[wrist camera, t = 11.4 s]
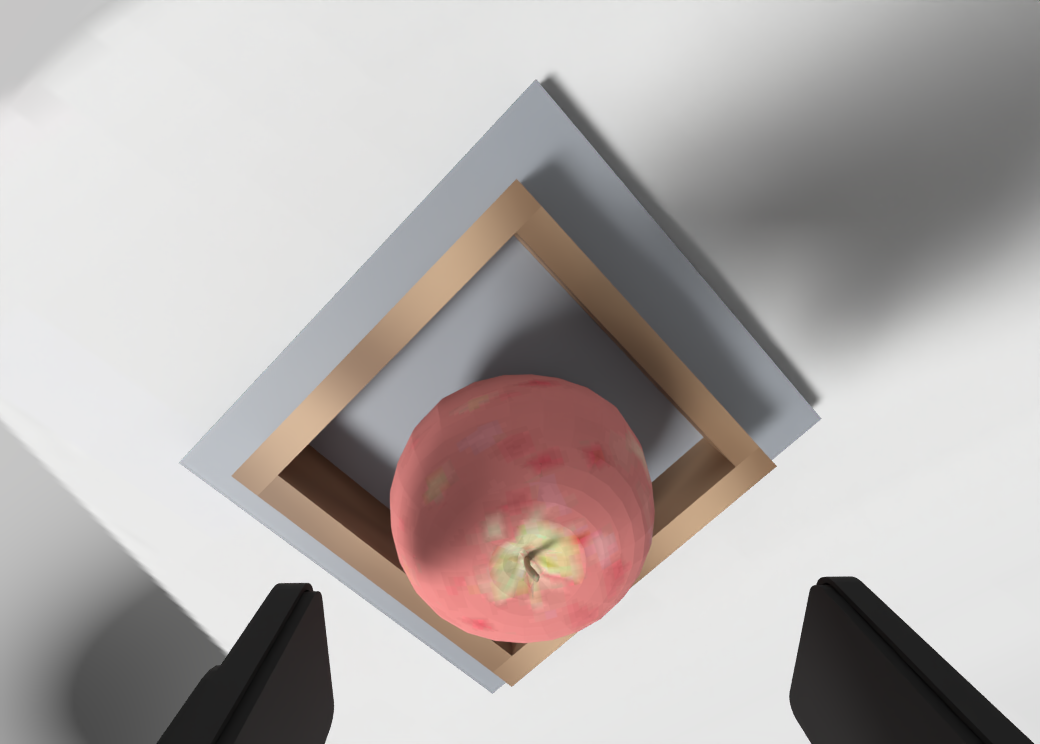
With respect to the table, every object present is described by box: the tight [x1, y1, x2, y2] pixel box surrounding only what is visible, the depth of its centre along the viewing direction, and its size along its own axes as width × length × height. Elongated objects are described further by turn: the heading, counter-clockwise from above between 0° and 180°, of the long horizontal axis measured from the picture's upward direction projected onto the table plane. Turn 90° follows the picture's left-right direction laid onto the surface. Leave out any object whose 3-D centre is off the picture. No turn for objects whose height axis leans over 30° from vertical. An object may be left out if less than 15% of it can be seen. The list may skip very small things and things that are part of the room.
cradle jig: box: [179, 80, 821, 694], centre depth 17 cm, size 18×16×4 cm
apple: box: [390, 374, 655, 643], centre depth 14 cm, size 7×7×8 cm
